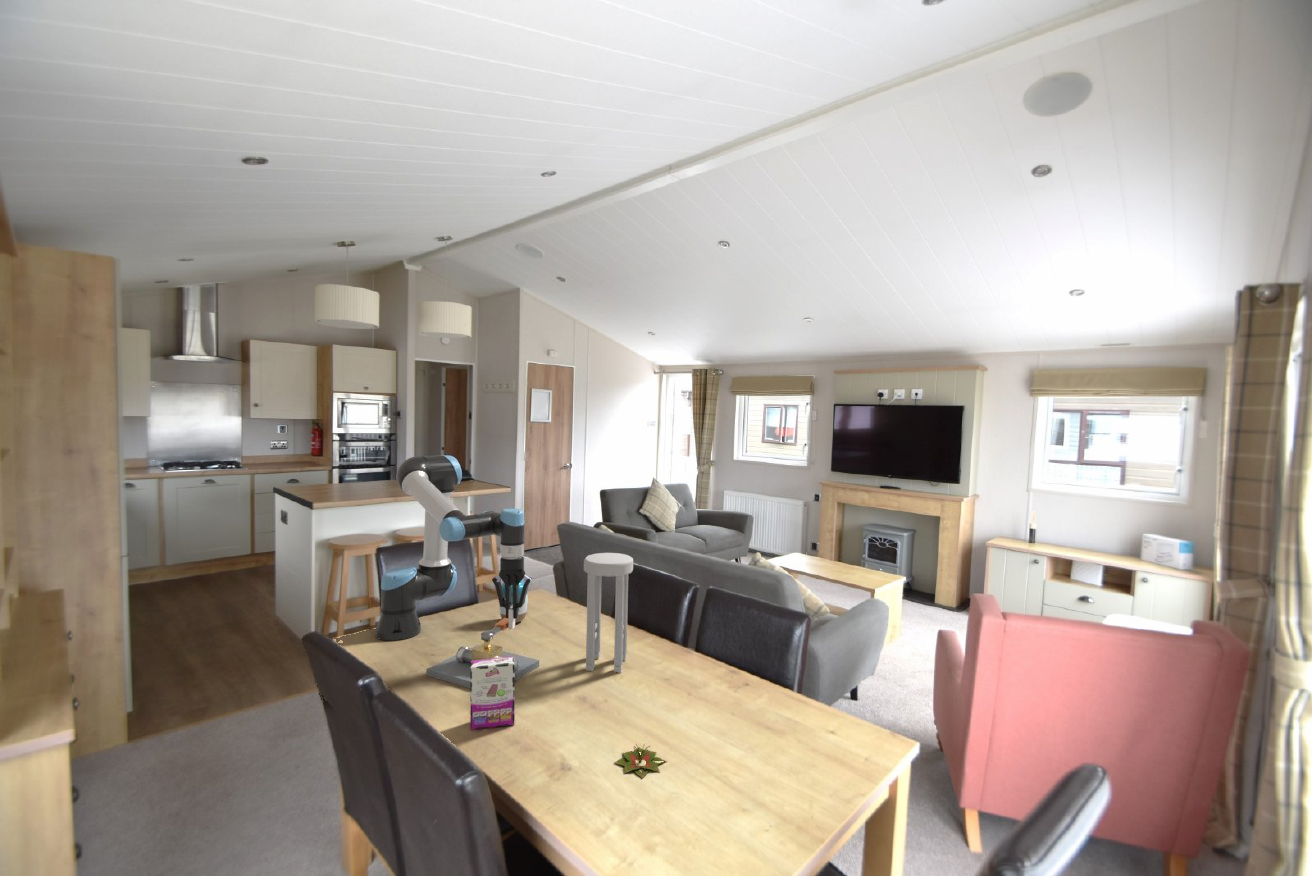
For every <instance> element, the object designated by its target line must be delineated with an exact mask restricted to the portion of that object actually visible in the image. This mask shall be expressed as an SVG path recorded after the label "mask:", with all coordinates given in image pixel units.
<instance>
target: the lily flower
mask: <svg viewBox="0 0 1312 876" xmlns="http://www.w3.org/2000/svg"><path fill="white" fill-rule="evenodd" d="M645 744H646V743H644V744H643V746H642V748H641V746H638V744H637V743H635V745H633V751H632V750H630V751H629V750H628V751H625V752H622V755H623V756H624V757H622V758H619V759H617V760H616V761H614V762H613V763H614V764H617V765H620V766H624V772H623V774H626V773H628V772H631V771H633V772H635V774H637V776H639V777H640V778H641V779H643V778H644V777H645V776H646V775H647V774H648V772H649V771H650V770H651V771H654V772H658V773H660V770H659V769H660V768H659V765H661V764H664V763H666V762H668V761H667V760H665V759H662V758H661V757H657V756H656V755H657V752H656V751H651V750H649V749H647V748H650V747H651V745H648V746H645ZM636 746H637V747H636ZM644 746H645V749H644ZM639 752H641V755H640V753H639ZM655 752H656V753H655ZM636 761H638V763H639V764H640V763H641V764H642V761H644V762H645V761H646V764H645V765H644V764H643V765H637V763H636ZM655 761H666V762H661V763H657V762H655ZM641 768H643V770H644V771H643V770H642V771H641V770H639V769H641Z"/></svg>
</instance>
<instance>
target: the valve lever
mask: <svg viewBox="0 0 1312 876" xmlns="http://www.w3.org/2000/svg"><path fill="white" fill-rule="evenodd" d="M507 629H509V618H504V619H502V618H501V620H499V621H497V622H496V623H494V627H492V628H490V629H489V630H487V631H482V632H481V633H480V640H482V641H483V642H484V641H488V640H490V641H492V640H493V639H494V636H495V635H497V633H499V632H501V631H503V632H504V631H506V630H507Z"/></svg>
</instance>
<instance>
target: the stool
mask: <svg viewBox="0 0 1312 876" xmlns="http://www.w3.org/2000/svg"><path fill="white" fill-rule="evenodd" d="M633 570H634V558H633V557H632V556H630V555H628V554H625V553H619V552H599V553H593V554H588V555H587V556H586V557H585V558H584V559H583V571H584V572H585V573H587V585H586V586H587V587H586V588H587V591H586V593H587V594H586V595H587V596H586V639H585V640H586V646H585V648H586V650H585V653H586V654H585V671H588V672H590V671H591V672H594V669H595V660H600V658H599V657H601V625H602V624H601V621H602V620H601V615H602V614H601V612H602V611H601V610H602V577H608V578H609V577H612V578H613V577H615V596H614V597H615V601H614V602H615V605H614V606H615V608H614V612H615V613H614V645H613V647H614V650H613V651H614V654H613V655H614V657H613V663H614V664H613V673H616V672H618V674H619V673H622V671H623V662H625V661H626V660H627V653H628V651H627V650H628V649H627V648H628V647H627V646H628V644H627V643H628V605H629V604H628V601H629V599H628V598H629V594H628V593H629V575H630V574H632V573H633Z"/></svg>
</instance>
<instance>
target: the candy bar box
mask: <svg viewBox="0 0 1312 876" xmlns="http://www.w3.org/2000/svg"><path fill="white" fill-rule="evenodd" d="M515 682H516V681H515V664H514V657H505V658H495V659H485V660H474V661H471V667H470V688H469V691H470V695H469V696H470V698H469V699H470V701H469V702H470V703H469V704H470V705H469V706H470V711H469V714H470V717H469V718H470V725H469V727H470V731H475V730H476V731H478V730H484V729H491V728H500V727H507V726H508V727H509V726H513V725H514V726H515V720H516V719H515V718H516V717H515V708H516V707H515V702H516V701H515V700H516V699H515V696H516V695H515V694H516V693H515V689H516V688H515Z"/></svg>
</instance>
